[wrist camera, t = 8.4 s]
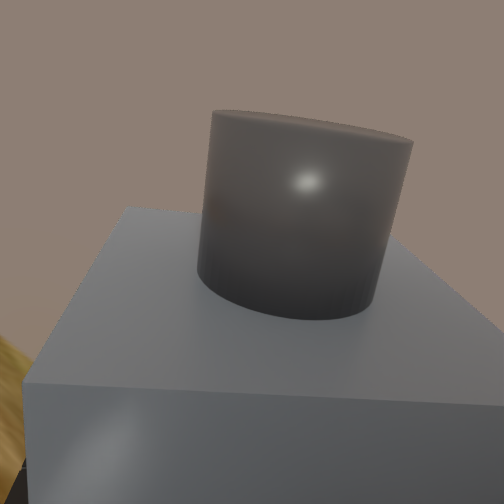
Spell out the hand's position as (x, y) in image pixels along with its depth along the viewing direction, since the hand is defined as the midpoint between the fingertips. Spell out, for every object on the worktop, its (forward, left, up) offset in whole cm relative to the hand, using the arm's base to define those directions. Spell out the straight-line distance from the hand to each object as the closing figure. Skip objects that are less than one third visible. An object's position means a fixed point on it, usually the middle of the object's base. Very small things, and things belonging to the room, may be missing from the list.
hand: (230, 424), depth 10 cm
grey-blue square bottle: (0, +3, -7) cm, 7 cm away
